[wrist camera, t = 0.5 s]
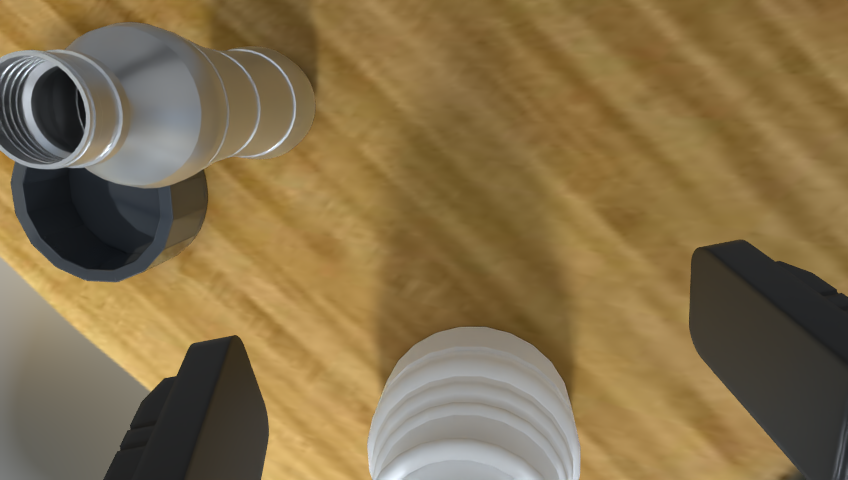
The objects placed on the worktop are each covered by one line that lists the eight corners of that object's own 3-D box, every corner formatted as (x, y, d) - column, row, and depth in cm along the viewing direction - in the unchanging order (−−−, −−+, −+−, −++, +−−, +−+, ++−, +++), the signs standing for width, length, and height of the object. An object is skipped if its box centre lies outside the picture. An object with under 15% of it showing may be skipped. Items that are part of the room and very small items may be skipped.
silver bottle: (219, 47, 37) (-86, -5, 18) (325, 50, 36) (129, -1, 17) (224, 152, 39) (-52, 209, 19) (326, 157, 38) (146, 221, 19)
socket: (84, 85, 39) (31, 84, 34) (227, 148, 38) (192, 155, 34) (49, 225, 41) (-4, 241, 37) (183, 285, 41) (145, 308, 37)
